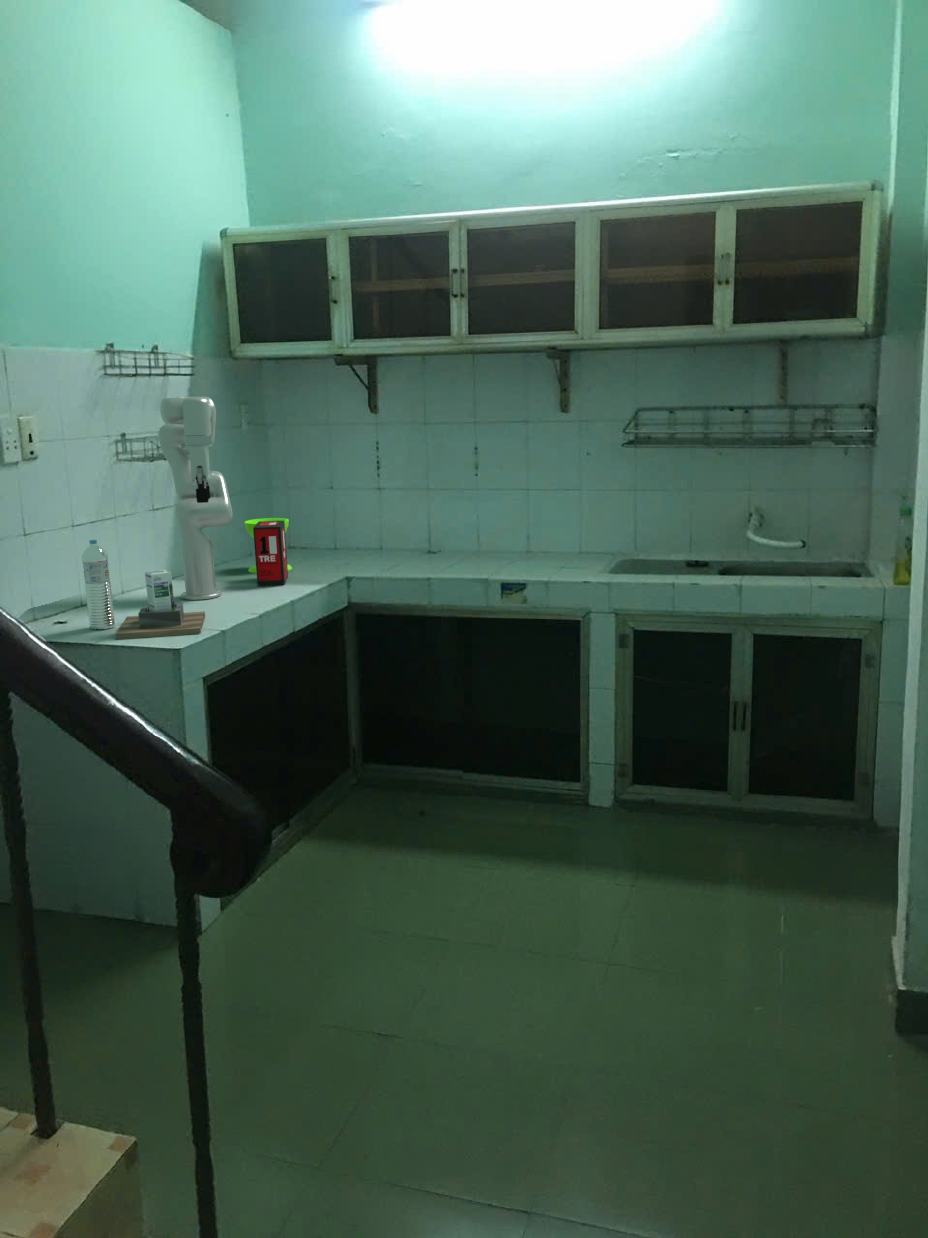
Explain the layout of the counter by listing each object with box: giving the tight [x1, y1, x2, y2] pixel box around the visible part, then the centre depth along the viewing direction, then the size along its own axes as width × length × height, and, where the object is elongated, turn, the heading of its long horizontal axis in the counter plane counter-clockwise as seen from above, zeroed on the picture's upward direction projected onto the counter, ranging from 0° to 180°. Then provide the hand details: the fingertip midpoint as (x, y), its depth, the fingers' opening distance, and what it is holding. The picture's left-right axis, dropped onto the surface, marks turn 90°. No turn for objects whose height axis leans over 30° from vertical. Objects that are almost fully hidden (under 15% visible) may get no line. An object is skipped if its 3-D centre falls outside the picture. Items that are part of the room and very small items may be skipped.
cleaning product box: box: [253, 521, 289, 588], centre depth 345 cm, size 16×9×20 cm, turn 5°
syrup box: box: [144, 568, 175, 612], centre depth 282 cm, size 6×6×14 cm
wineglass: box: [244, 517, 293, 574], centre depth 369 cm, size 16×16×18 cm
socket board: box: [115, 602, 206, 640], centre depth 283 cm, size 22×22×6 cm
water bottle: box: [81, 539, 116, 631], centre depth 282 cm, size 7×7×25 cm
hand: (203, 500), depth 295 cm, fingers open, 9 cm apart
